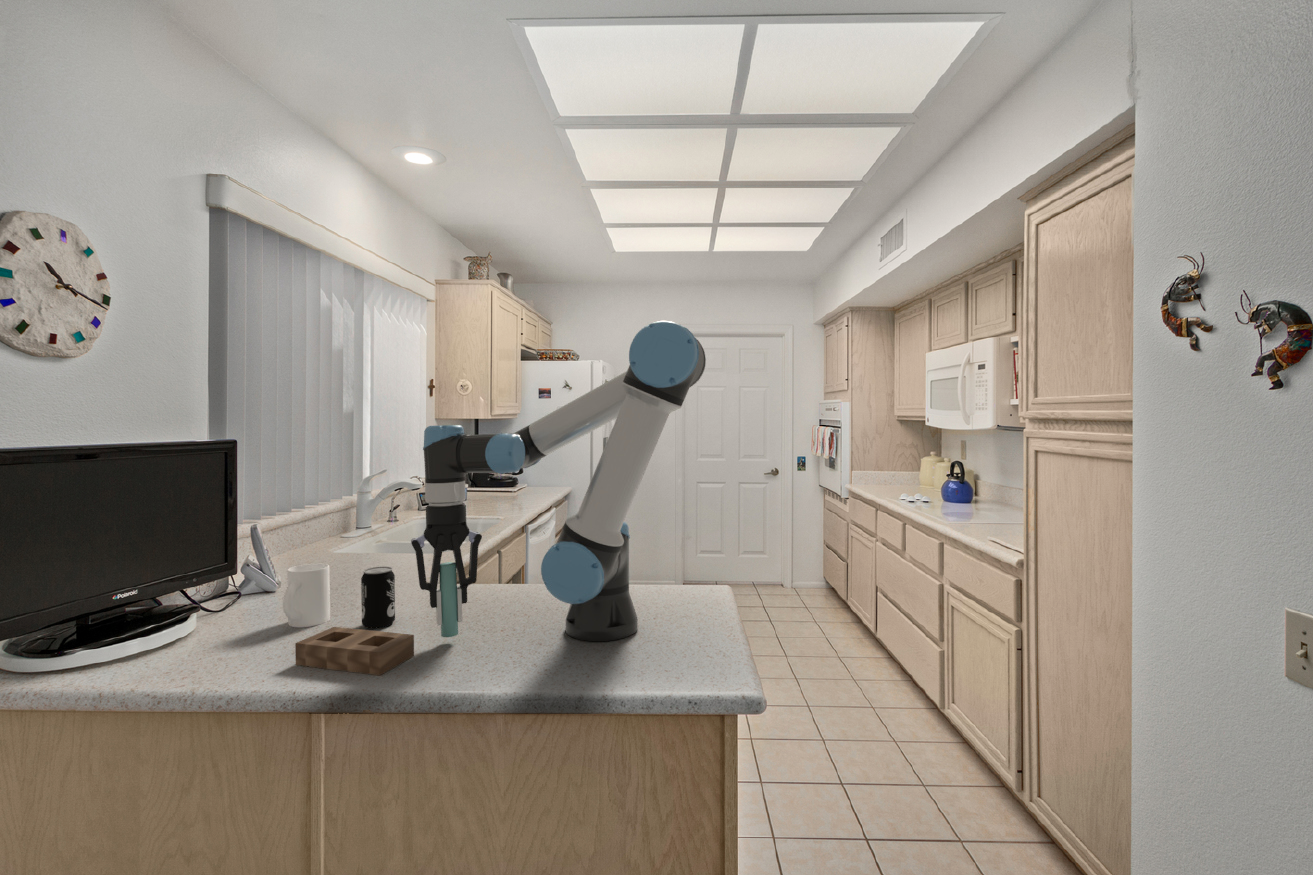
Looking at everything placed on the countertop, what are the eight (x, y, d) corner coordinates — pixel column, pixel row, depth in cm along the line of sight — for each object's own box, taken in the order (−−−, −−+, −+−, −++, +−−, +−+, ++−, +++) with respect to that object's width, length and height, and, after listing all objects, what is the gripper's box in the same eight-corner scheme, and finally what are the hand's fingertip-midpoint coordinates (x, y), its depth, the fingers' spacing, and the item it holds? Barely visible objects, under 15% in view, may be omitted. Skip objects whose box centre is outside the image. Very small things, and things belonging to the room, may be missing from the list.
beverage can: (382, 630, 127) (381, 573, 126) (354, 628, 128) (354, 572, 128) (401, 620, 133) (400, 566, 133) (375, 618, 134) (374, 565, 134)
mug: (265, 633, 125) (264, 576, 125) (302, 615, 137) (301, 563, 137) (304, 634, 125) (303, 576, 124) (337, 616, 137) (336, 563, 136)
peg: (461, 632, 120) (459, 562, 120) (452, 637, 117) (449, 566, 117) (447, 631, 121) (445, 561, 121) (437, 636, 118) (435, 565, 118)
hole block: (414, 655, 113) (413, 634, 112) (380, 675, 104) (380, 652, 104) (334, 647, 117) (334, 626, 117) (295, 665, 108) (295, 643, 108)
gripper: (484, 498, 126) (488, 610, 126) (400, 504, 119) (404, 622, 119) (491, 502, 119) (494, 620, 119) (402, 508, 112) (406, 634, 112)
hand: (449, 621), depth 119 cm, fingers closed on peg, 3 cm apart
